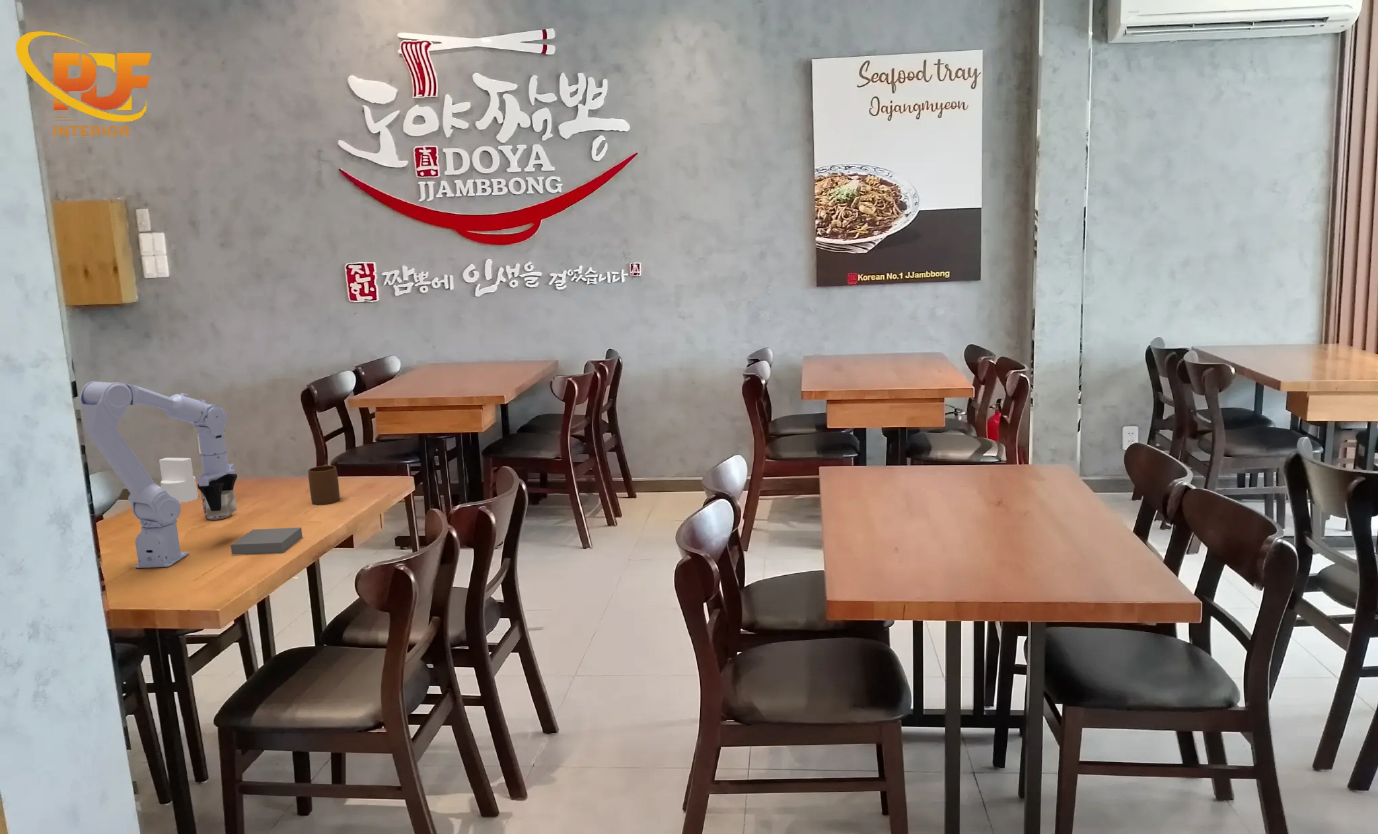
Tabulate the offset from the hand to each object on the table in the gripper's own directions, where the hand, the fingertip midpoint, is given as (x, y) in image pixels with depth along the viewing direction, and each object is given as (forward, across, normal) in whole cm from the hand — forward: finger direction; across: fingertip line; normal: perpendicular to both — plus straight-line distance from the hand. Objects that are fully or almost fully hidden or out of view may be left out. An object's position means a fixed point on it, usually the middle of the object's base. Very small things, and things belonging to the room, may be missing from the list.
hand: (221, 507), depth 251 cm
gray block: (+1, 0, 0) cm, 1 cm away
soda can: (+9, +22, +12) cm, 26 cm away
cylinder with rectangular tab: (+9, +43, +33) cm, 55 cm away
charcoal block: (+9, -6, -13) cm, 17 cm away
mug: (+9, +36, -12) cm, 39 cm away
